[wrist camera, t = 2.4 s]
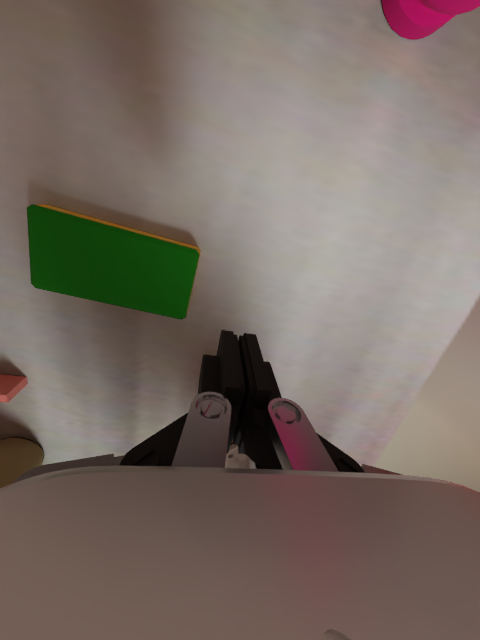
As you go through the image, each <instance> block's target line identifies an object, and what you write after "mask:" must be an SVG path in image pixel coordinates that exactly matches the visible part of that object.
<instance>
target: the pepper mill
mask: <svg viewBox="0 0 480 640" xmlns="http://www.w3.org/2000/svg"><path fill="white" fill-rule="evenodd" d="M382 4H383V10H384V14H385V17H386V19H387V21H388V23H389V25H390V27H391V29H392V30H393V31H395V32H396V33H397V34H398V35H399V36H401V37H404V38H407V39H420V38H424V37H426V36H428V35H430V34H432V33H433V32H435V31H436V30H437V29H439V28H440V27H441V26H443V25H444V24H445V23H446V22H448V21H449V20H450V19H452V18H453V17H454V16H455V15H457V14H462V13H465V12H469V11H471V10H473V9H475V8H477V7H479V6H480V0H382Z"/></svg>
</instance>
